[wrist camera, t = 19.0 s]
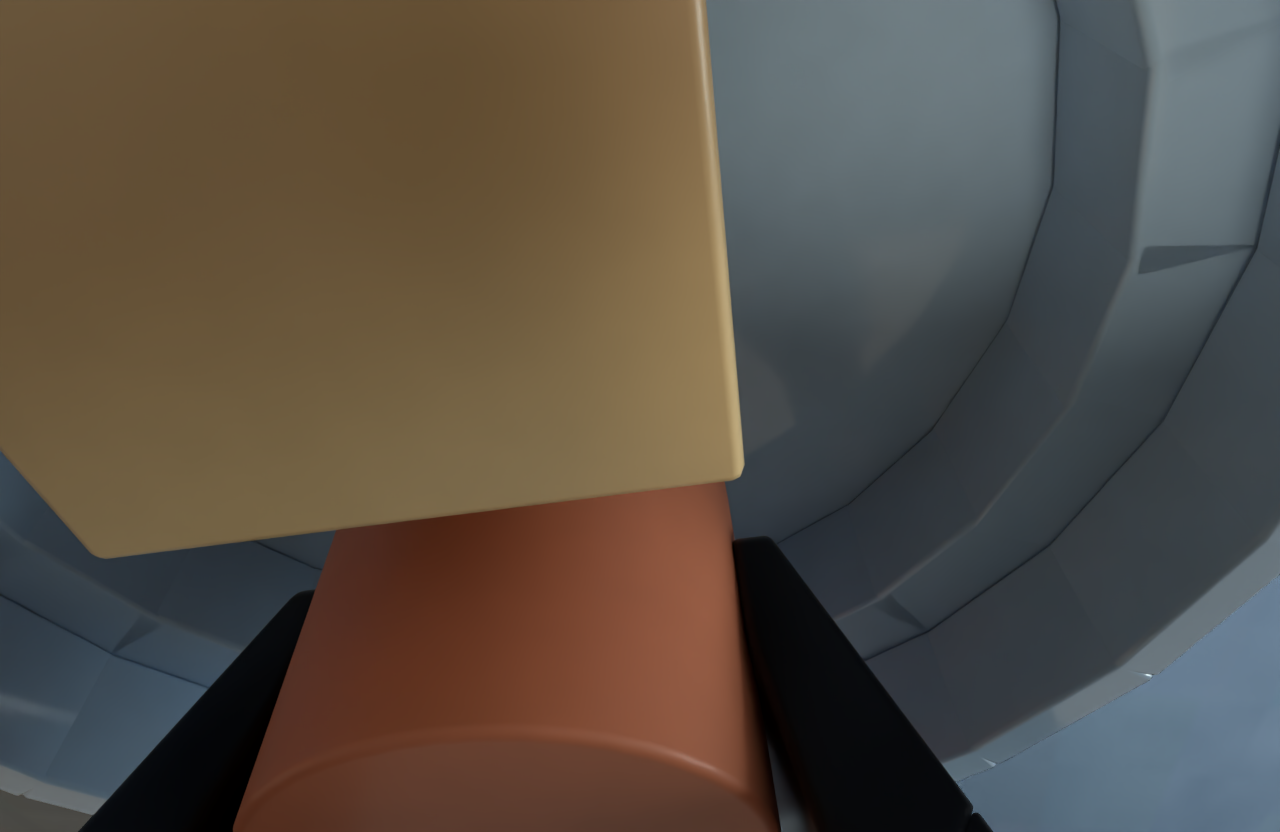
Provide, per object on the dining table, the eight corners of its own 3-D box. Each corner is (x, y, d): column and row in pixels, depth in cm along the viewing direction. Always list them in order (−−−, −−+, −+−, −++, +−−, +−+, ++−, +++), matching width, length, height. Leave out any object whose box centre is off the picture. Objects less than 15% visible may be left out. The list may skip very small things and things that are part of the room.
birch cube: (691, 191, 8) (746, 483, 5) (289, 251, 9) (93, 566, 5) (628, -389, 6) (657, -591, 2) (44, -272, 6) (-683, -304, 3)
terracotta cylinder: (739, 607, 11) (790, 945, 8) (423, 643, 11) (352, 982, 8) (711, 340, 8) (774, 701, 5) (292, 397, 8) (109, 772, 5)
